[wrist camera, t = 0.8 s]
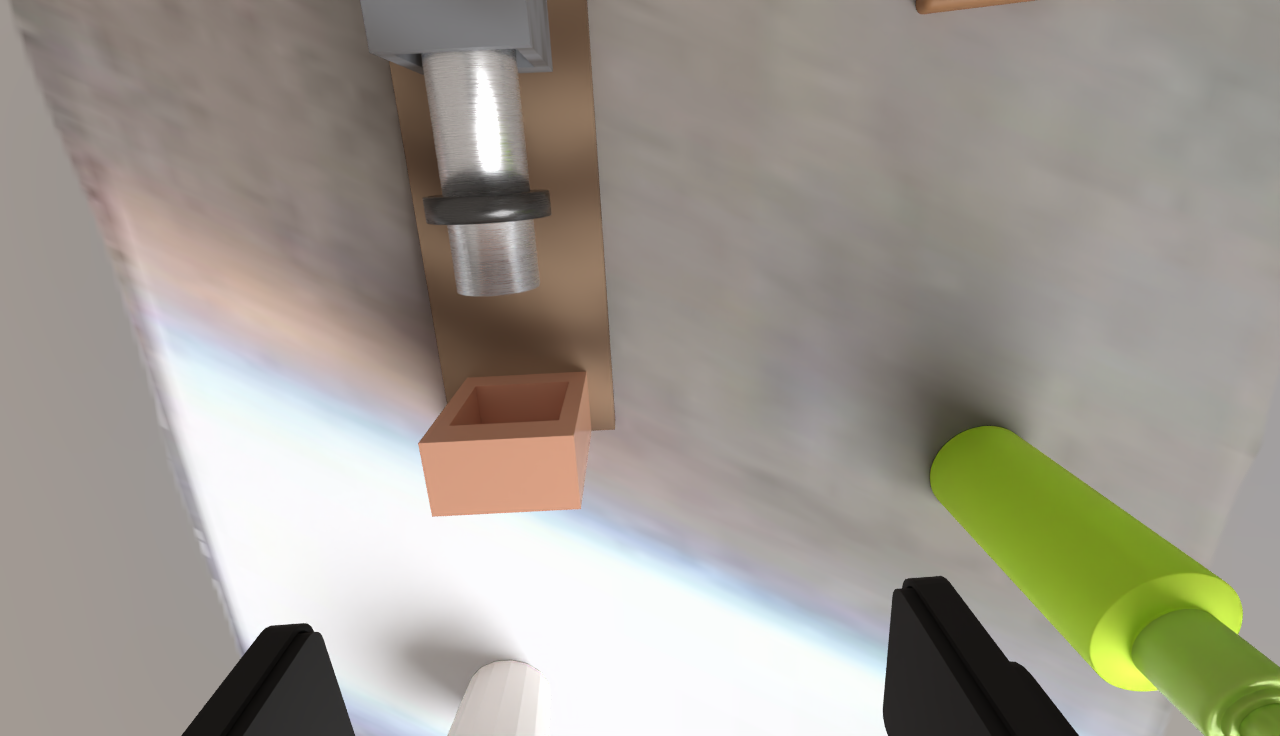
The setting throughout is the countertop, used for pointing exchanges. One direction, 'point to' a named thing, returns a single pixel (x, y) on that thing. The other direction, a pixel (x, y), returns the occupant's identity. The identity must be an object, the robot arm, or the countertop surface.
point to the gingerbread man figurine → (957, 4)
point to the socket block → (509, 445)
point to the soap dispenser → (1110, 583)
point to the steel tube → (483, 171)
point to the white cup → (504, 702)
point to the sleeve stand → (557, 161)
